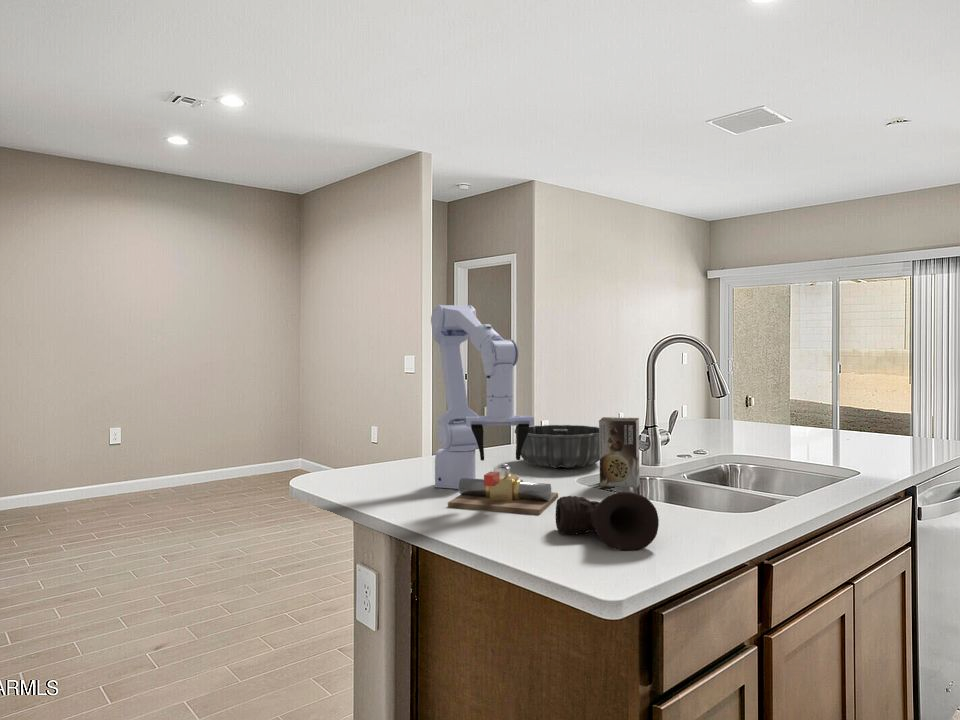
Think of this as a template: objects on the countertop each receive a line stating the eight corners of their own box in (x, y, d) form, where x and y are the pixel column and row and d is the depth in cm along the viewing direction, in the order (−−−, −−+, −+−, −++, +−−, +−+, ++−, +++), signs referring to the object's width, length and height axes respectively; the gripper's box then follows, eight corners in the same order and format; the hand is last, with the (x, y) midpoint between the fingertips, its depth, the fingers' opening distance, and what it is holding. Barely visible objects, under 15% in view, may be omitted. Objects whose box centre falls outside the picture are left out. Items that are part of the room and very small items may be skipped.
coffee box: (640, 483, 166) (640, 417, 166) (637, 488, 160) (637, 420, 160) (602, 480, 169) (602, 416, 169) (598, 486, 163) (598, 419, 163)
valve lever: (500, 474, 149) (500, 463, 149) (511, 475, 148) (511, 463, 148) (482, 485, 138) (482, 473, 138) (494, 486, 137) (494, 473, 137)
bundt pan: (507, 457, 205) (507, 424, 205) (592, 455, 208) (592, 422, 208) (522, 474, 179) (522, 436, 179) (619, 471, 182) (619, 434, 181)
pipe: (554, 486, 128) (572, 489, 113) (632, 490, 129) (659, 493, 115) (553, 539, 127) (571, 549, 112) (631, 542, 128) (659, 552, 113)
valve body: (457, 498, 149) (457, 476, 149) (465, 493, 153) (465, 471, 153) (546, 505, 142) (546, 482, 142) (552, 500, 147) (552, 477, 146)
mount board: (448, 506, 144) (448, 502, 143) (474, 491, 159) (474, 486, 159) (539, 514, 137) (539, 509, 137) (558, 497, 152) (558, 492, 152)
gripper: (466, 398, 141) (467, 463, 141) (536, 397, 142) (536, 462, 142) (465, 395, 148) (465, 457, 148) (531, 394, 149) (531, 456, 149)
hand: (500, 459), depth 146 cm, fingers open, 7 cm apart
